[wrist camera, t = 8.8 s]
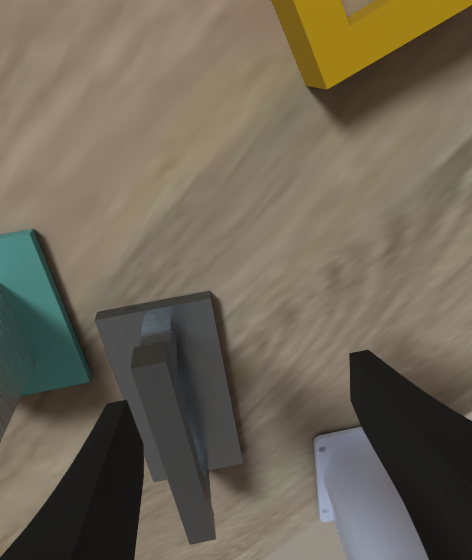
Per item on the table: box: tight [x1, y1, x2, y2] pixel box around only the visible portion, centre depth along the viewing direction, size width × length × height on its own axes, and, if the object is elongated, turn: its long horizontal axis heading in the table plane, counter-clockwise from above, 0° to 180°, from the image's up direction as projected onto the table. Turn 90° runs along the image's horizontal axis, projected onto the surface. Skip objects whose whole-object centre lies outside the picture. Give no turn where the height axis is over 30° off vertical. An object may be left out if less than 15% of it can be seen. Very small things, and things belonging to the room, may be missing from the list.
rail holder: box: [95, 291, 243, 545], centre depth 23 cm, size 13×6×5 cm, turn 8°
